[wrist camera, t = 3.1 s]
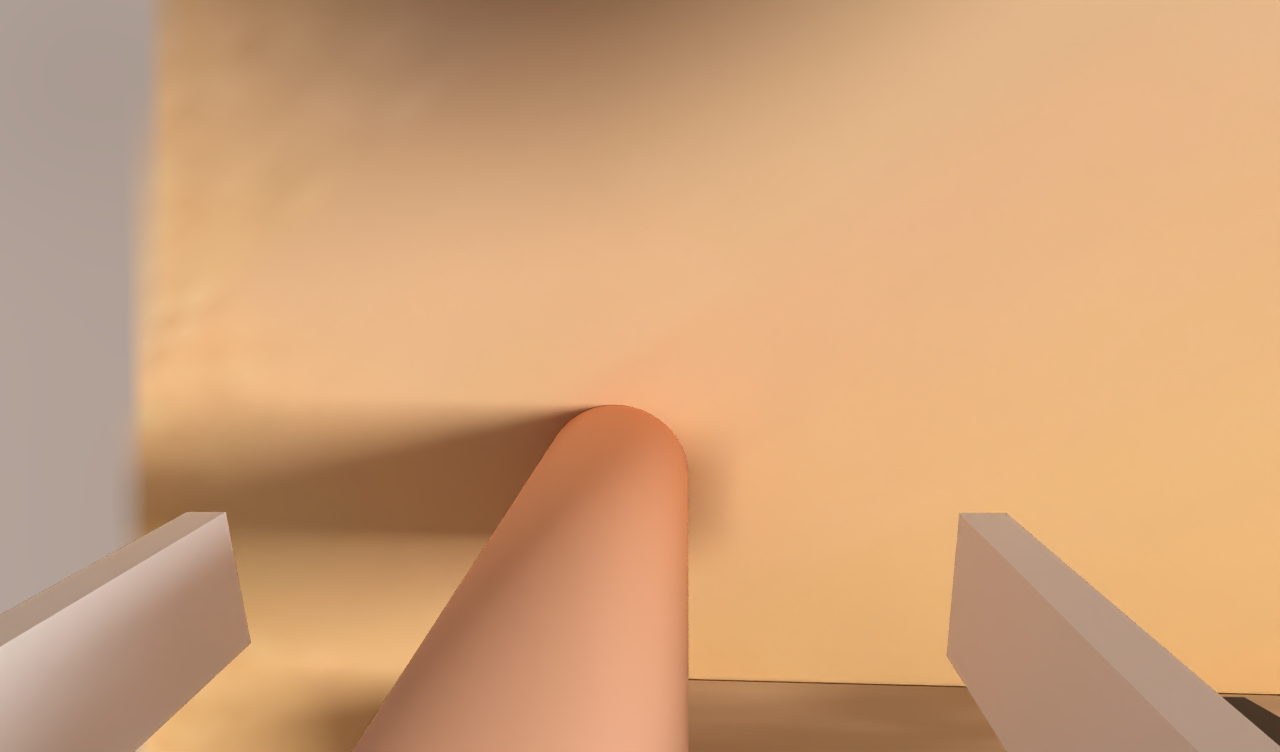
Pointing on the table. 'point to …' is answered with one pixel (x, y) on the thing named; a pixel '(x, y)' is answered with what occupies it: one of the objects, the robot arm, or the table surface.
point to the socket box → (845, 718)
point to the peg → (564, 610)
